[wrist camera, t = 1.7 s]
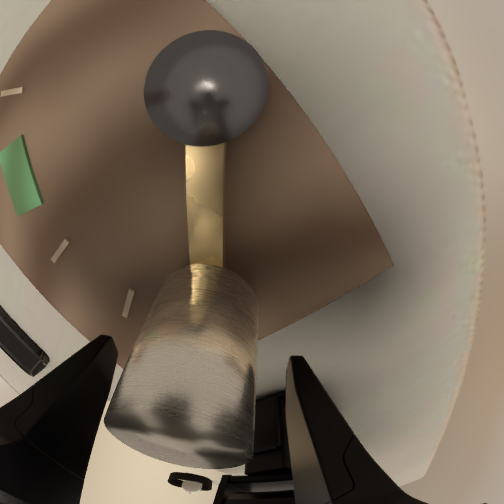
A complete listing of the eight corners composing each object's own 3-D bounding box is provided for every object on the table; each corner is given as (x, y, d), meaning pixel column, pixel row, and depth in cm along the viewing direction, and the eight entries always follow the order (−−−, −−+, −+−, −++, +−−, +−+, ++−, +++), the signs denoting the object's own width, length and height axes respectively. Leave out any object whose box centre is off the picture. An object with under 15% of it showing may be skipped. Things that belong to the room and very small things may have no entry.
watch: (174, 475, 36) (171, 491, 33) (165, 468, 34) (162, 485, 31) (215, 480, 35) (213, 497, 32) (209, 474, 33) (207, 493, 30)
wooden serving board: (382, 249, 13) (395, 267, 11) (153, 370, 18) (147, 388, 16) (132, -52, 5) (118, -65, 4) (-26, 171, 11) (-42, 179, 9)
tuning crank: (158, 47, 7) (4, -8, 1) (276, 44, 7) (305, -87, 1) (177, 340, 14) (141, 465, 7) (254, 347, 14) (247, 481, 7)
